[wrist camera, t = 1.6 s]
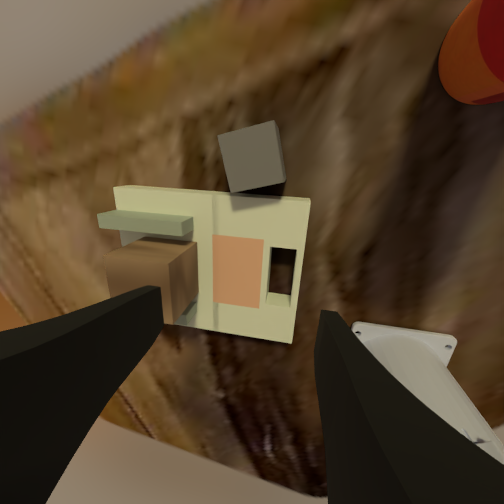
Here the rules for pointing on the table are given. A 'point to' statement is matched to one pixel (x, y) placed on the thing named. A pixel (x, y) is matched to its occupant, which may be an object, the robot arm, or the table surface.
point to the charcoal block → (253, 157)
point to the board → (223, 251)
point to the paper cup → (475, 54)
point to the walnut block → (156, 271)
